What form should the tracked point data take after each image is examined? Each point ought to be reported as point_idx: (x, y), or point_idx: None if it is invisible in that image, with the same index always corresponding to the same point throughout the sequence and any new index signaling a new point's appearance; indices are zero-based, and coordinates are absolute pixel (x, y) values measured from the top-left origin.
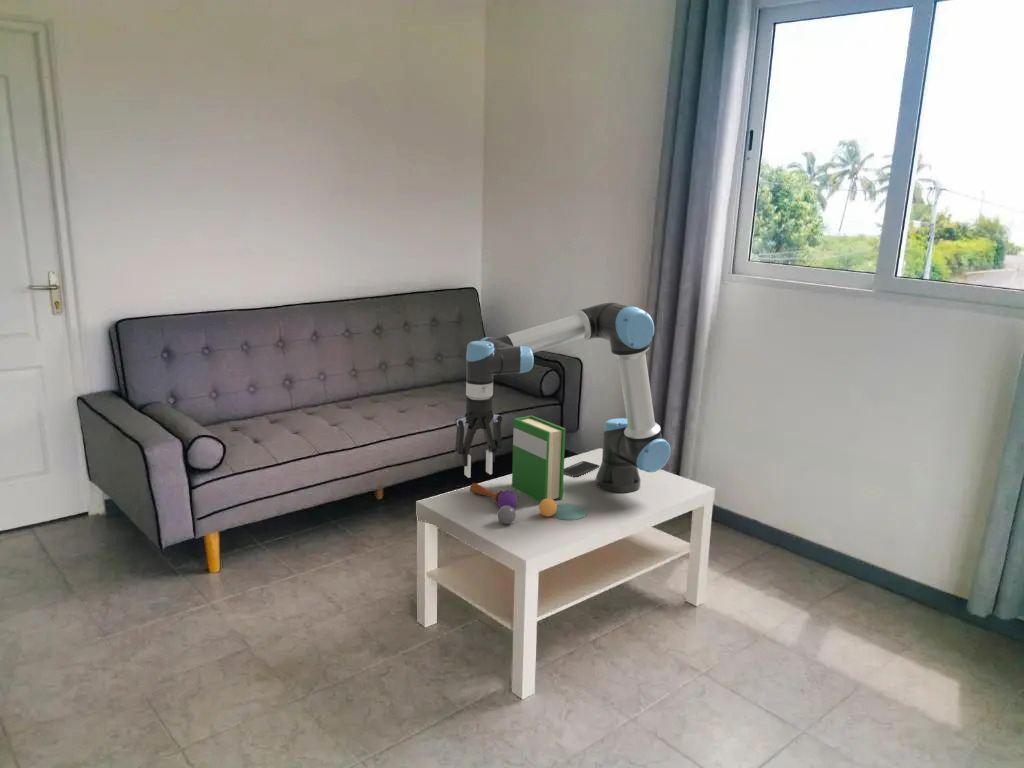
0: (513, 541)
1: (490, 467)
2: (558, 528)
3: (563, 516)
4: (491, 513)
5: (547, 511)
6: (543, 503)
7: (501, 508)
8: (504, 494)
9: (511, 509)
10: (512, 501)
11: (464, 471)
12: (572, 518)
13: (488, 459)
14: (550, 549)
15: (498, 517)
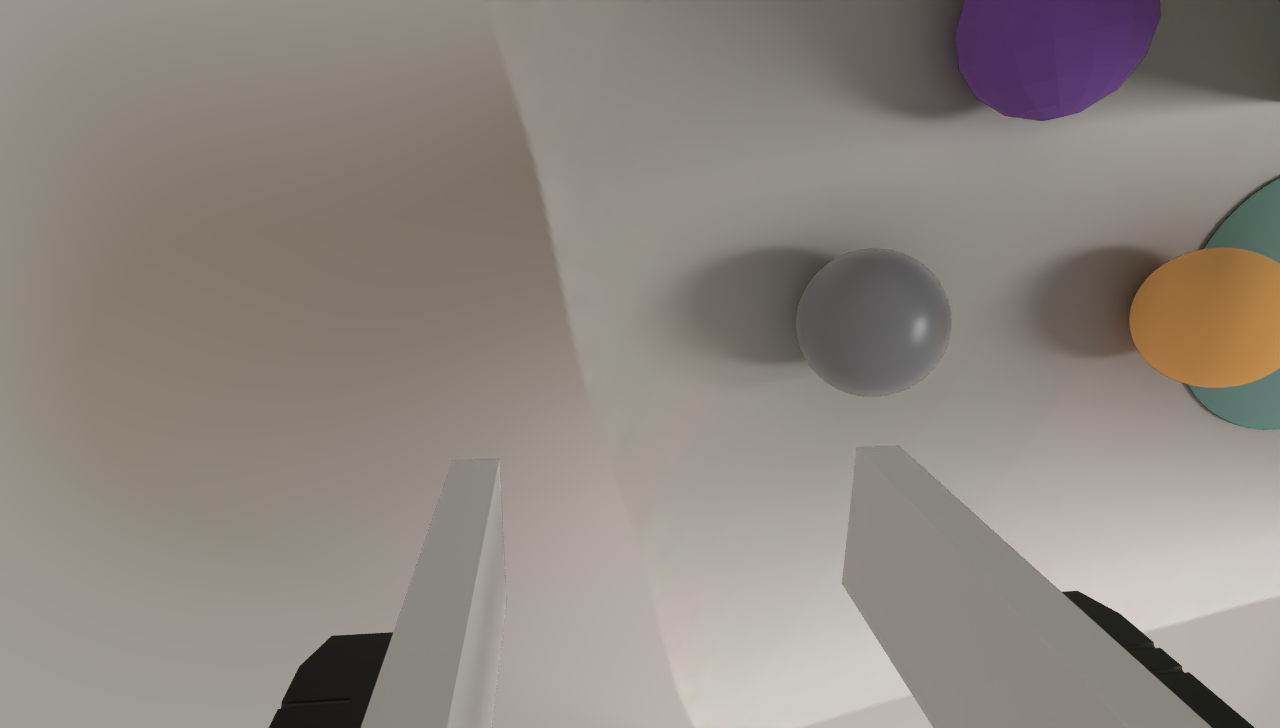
0: (742, 559)
1: (904, 660)
2: (1082, 497)
3: None
4: (840, 84)
5: (1163, 373)
6: (1204, 345)
7: (851, 330)
8: (1052, 45)
9: (912, 379)
10: (1056, 117)
11: (441, 494)
12: (1251, 414)
13: (978, 710)
14: (872, 703)
15: (797, 321)
